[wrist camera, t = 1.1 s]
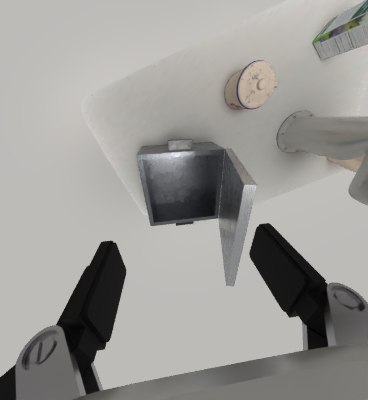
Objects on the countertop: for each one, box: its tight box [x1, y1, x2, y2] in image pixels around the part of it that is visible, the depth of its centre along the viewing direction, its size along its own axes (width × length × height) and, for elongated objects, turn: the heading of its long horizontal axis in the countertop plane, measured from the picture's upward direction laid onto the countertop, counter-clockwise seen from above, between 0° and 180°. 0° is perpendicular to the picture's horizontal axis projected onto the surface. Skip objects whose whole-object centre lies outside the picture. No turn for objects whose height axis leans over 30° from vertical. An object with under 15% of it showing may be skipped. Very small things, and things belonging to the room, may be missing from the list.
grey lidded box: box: [136, 139, 225, 226], centre depth 46 cm, size 22×27×12 cm
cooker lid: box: [219, 149, 257, 286], centre depth 33 cm, size 22×22×4 cm
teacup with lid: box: [225, 60, 279, 109], centre depth 36 cm, size 12×9×12 cm
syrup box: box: [313, 0, 368, 60], centre depth 32 cm, size 6×6×14 cm
